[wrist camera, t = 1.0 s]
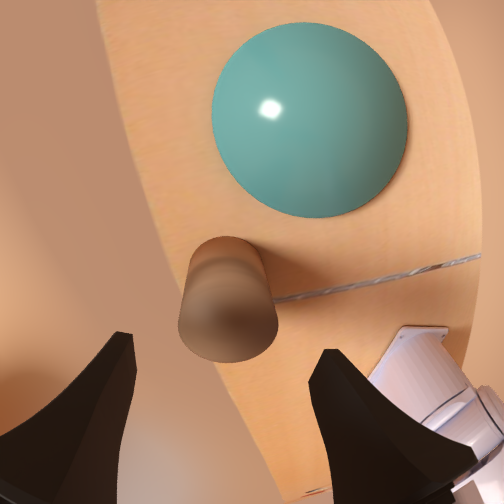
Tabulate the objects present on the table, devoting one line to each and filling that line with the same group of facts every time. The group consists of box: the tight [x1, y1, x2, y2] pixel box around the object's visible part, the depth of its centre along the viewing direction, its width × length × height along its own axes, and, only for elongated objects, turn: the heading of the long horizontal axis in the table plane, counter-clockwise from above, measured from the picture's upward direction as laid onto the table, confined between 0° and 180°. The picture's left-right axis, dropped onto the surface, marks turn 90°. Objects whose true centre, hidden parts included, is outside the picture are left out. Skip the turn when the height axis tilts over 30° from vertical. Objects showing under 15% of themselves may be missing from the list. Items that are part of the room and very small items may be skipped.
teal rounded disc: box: [212, 22, 407, 218], centre depth 15 cm, size 12×12×1 cm
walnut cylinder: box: [178, 236, 278, 363], centre depth 16 cm, size 5×5×6 cm
